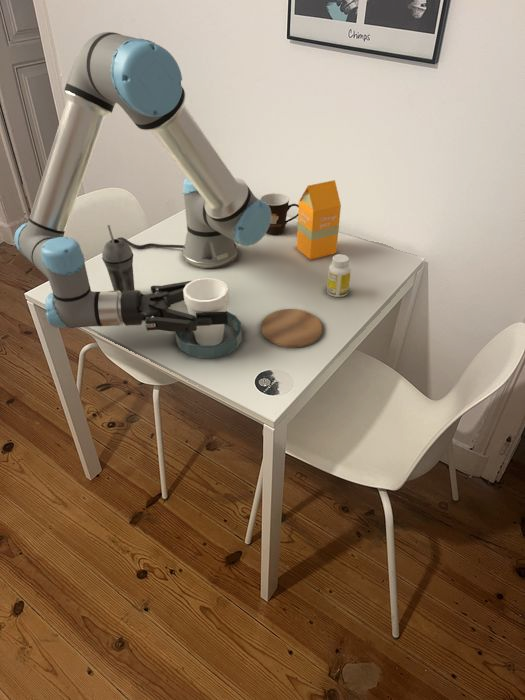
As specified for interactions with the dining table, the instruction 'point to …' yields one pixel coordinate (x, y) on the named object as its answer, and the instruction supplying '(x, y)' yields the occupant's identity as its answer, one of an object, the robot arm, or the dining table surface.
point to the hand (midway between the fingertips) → (227, 304)
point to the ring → (212, 350)
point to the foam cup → (206, 306)
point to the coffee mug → (277, 212)
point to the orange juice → (318, 220)
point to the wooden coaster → (291, 328)
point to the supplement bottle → (338, 276)
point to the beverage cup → (119, 263)
